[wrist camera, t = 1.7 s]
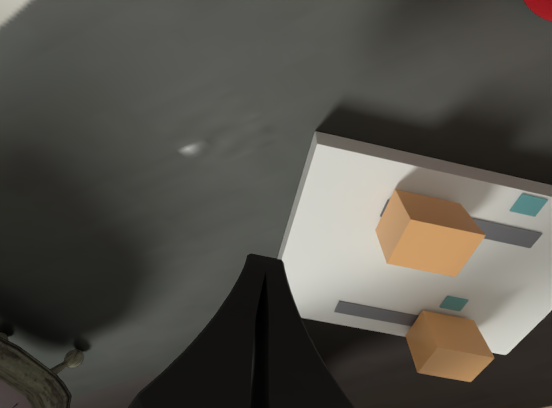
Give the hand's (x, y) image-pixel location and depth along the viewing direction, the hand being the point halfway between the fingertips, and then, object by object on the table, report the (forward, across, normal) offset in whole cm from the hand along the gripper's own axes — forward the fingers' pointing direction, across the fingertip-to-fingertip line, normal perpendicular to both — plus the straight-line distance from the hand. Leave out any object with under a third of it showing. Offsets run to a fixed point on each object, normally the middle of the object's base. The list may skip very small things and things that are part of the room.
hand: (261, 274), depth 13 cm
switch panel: (+10, -12, +4) cm, 16 cm away
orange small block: (+7, -9, 0) cm, 11 cm away
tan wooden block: (+7, -15, +9) cm, 19 cm away
